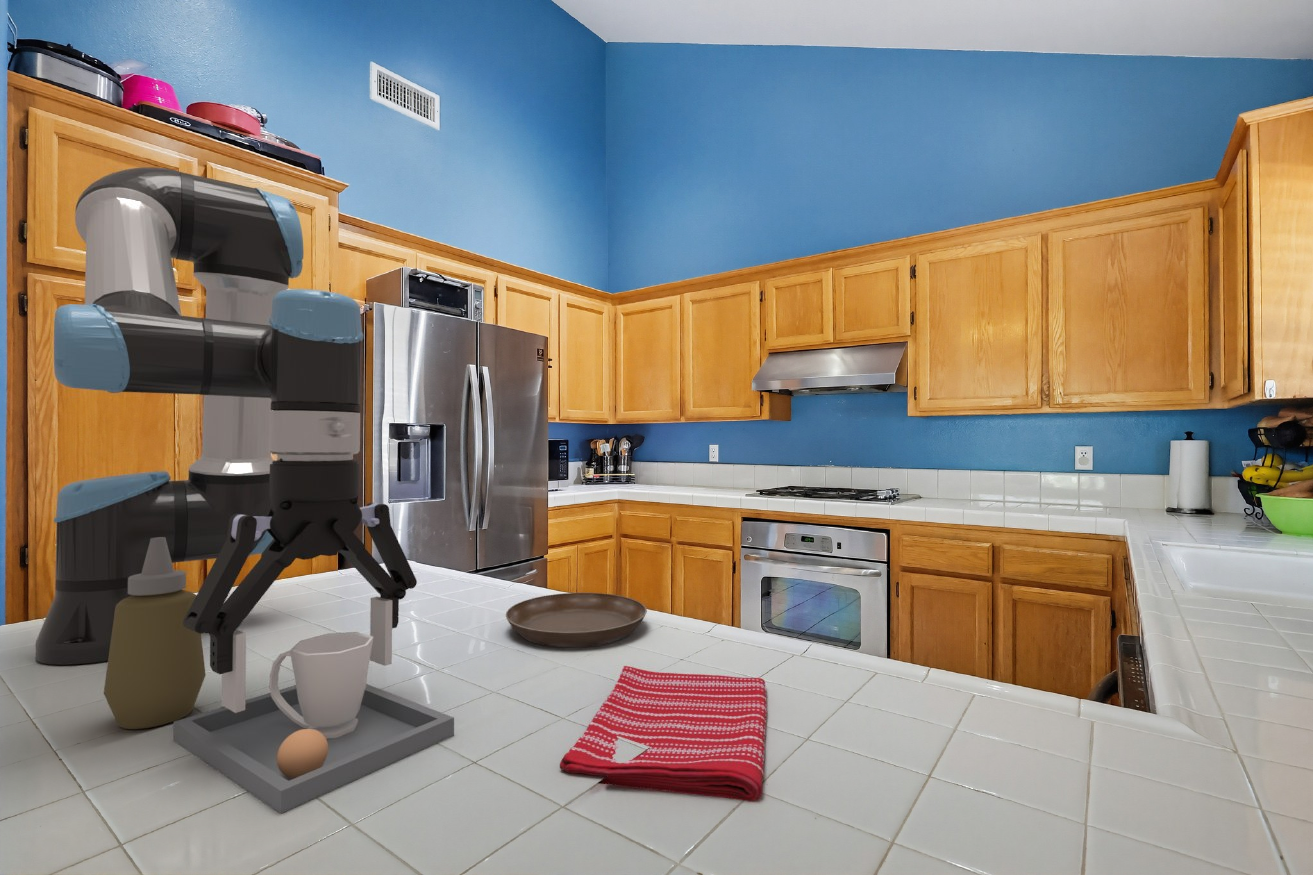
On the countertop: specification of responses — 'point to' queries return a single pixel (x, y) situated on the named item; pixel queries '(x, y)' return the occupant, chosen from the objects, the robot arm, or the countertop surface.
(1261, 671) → the countertop surface
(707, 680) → the dish towel
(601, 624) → the plant saucer
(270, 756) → the tray
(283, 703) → the cup
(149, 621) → the squeeze bottle
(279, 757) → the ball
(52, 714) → the countertop surface
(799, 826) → the countertop surface
